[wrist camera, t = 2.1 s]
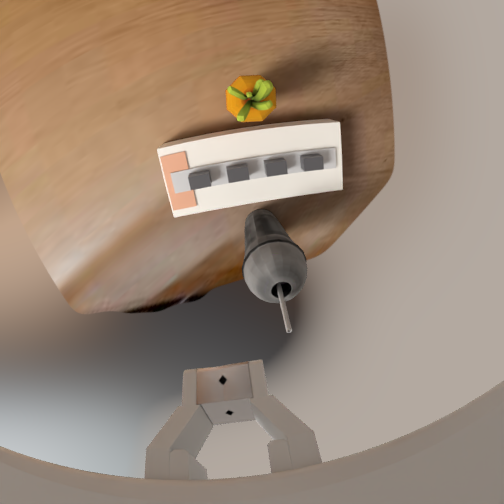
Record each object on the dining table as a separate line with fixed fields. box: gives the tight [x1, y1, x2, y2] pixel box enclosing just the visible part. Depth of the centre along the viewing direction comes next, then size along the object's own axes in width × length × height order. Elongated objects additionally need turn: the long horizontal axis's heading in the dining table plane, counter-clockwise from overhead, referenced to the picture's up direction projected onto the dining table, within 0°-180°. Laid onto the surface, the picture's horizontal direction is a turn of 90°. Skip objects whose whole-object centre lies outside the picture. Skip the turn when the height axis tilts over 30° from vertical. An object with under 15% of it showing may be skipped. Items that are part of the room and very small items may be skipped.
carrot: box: [226, 75, 276, 122], centre depth 26 cm, size 5×5×15 cm
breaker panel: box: [157, 119, 343, 217], centre depth 35 cm, size 9×22×6 cm, turn 98°
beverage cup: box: [242, 209, 307, 333], centre depth 34 cm, size 7×7×20 cm
